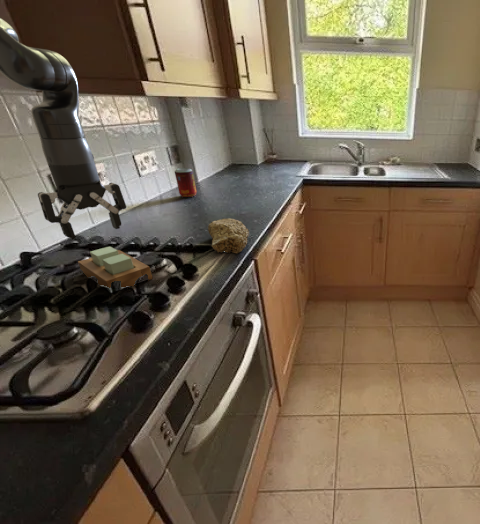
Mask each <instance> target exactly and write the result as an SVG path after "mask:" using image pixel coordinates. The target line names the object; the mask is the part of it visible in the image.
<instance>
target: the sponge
mask: <svg viewBox="0 0 480 524" xmlns="http://www.w3.org/2000/svg"><path fill="white" fill-rule="evenodd" d="M207 230H208V234H209V235H210V236H211V238H212V240H211V247H212V249H213V250H215V251H216V252H217V253H219V252H220V253H222V252H223V251H225V252H227V253H226V254H228V253H229V254H231V253H234V254H239V253H241V252H242V251H243V250H245V248H246V247H247V245H248V238H249V236H250V231H249V229H248V228H247V227H246V226H245V224H243V222H242V221H240V220H238V219H234V218H222V219H218V220H212V221H211V222H210V223H208V225H207Z"/></svg>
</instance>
